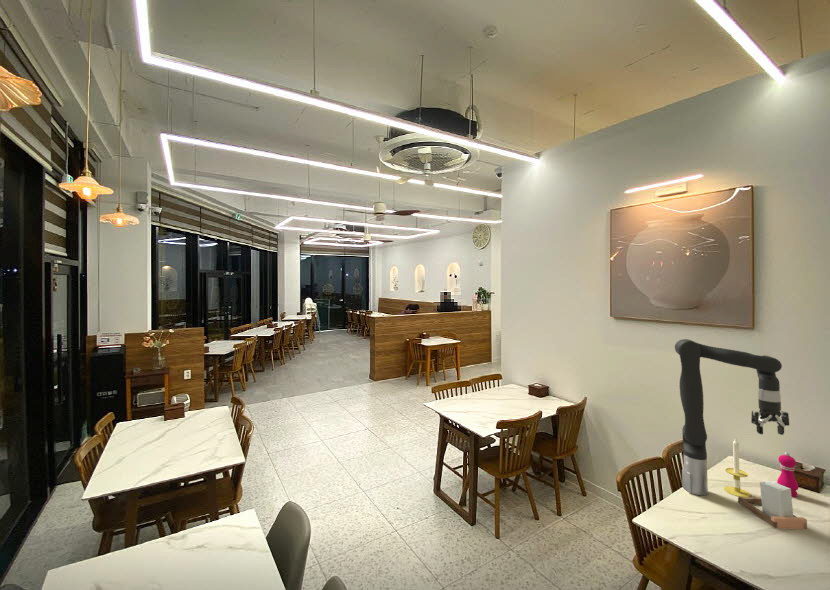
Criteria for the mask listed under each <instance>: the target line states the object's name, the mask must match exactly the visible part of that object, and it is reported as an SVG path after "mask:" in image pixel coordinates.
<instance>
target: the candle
mask: <svg viewBox="0 0 830 590" xmlns="http://www.w3.org/2000/svg"><path fill="white" fill-rule="evenodd" d="M739 444H740V443H739V442H738V440H737V437H735V438H734V440H733V442H732V450H733V451H732V454H733V455H732V456H733V457H732V458H733V461H732V462H733V468H732V467H727V468H725V472H726V473H727V474H729V475H732V476H733V477H732V478H733V486H730V485H727V486H724V488H723V490H724V492H726V493H727V494H730V495H732V496H734V495H735V496H734V497H737V498H738V497H751V496H752V495H751V493H750V492H749V491H747V490H745V489H743V488H741V478H746V477H749V473H747V472H746V471H744V470H742V469H740V445H739ZM751 498H752V497H751Z"/></svg>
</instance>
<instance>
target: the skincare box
mask: <svg viewBox="0 0 830 590" xmlns="http://www.w3.org/2000/svg"><path fill="white" fill-rule="evenodd" d="M759 486H760V487H759V488H760V498H761V500H762V505H761V511H762V512H763V513H765V514H766V515H768V516H769V517H771V516H777V517H793V515H794V508H793V499H792V498H793V497H791V489H790V488H788V487H785V486H782V485H780V484H778V483H777V482H774V481H772V480H763V481H760V482H759Z"/></svg>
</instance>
